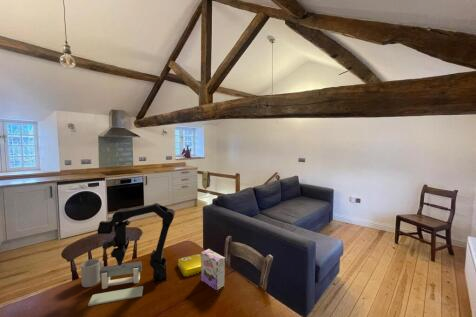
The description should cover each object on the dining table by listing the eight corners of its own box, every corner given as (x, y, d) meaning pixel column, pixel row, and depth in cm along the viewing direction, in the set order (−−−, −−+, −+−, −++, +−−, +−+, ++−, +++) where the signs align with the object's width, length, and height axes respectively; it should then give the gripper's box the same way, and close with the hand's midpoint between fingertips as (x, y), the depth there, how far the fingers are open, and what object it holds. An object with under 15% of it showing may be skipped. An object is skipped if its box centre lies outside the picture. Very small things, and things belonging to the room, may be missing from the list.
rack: (140, 275, 128) (140, 261, 127) (139, 282, 121) (138, 268, 120) (104, 280, 122) (104, 266, 122) (101, 289, 115) (100, 274, 115)
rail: (141, 268, 126) (141, 261, 126) (141, 271, 122) (141, 264, 122) (101, 274, 120) (101, 266, 120) (99, 278, 116) (99, 271, 116)
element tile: (184, 278, 126) (184, 269, 126) (177, 265, 139) (177, 258, 139) (208, 270, 134) (208, 263, 134) (199, 259, 147) (199, 252, 146)
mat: (143, 287, 117) (143, 285, 117) (141, 296, 110) (141, 294, 110) (92, 296, 110) (92, 294, 110) (88, 306, 103) (88, 304, 103)
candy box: (200, 280, 124) (200, 251, 123) (208, 275, 128) (208, 248, 127) (216, 292, 114) (216, 261, 113) (225, 286, 118) (225, 257, 117)
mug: (92, 288, 116) (91, 267, 115) (77, 286, 117) (76, 266, 116) (108, 274, 128) (107, 256, 127) (94, 273, 129) (94, 255, 128)
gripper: (107, 228, 126) (108, 255, 127) (98, 242, 108) (99, 273, 109) (129, 226, 129) (130, 252, 131) (124, 239, 112) (124, 269, 113)
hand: (121, 261), depth 121 cm, fingers open, 9 cm apart
